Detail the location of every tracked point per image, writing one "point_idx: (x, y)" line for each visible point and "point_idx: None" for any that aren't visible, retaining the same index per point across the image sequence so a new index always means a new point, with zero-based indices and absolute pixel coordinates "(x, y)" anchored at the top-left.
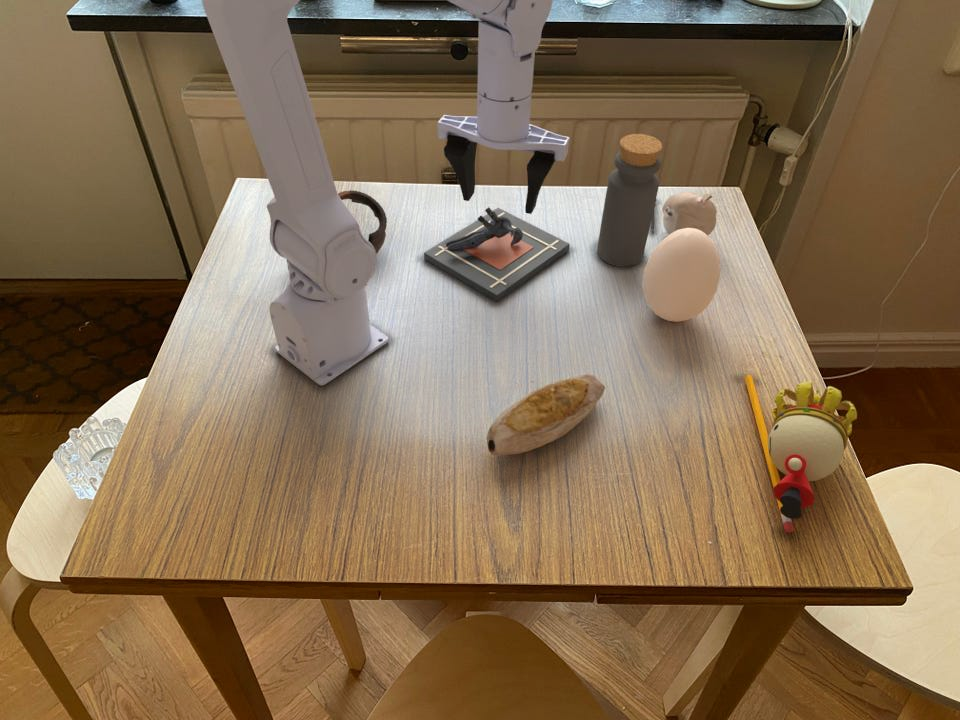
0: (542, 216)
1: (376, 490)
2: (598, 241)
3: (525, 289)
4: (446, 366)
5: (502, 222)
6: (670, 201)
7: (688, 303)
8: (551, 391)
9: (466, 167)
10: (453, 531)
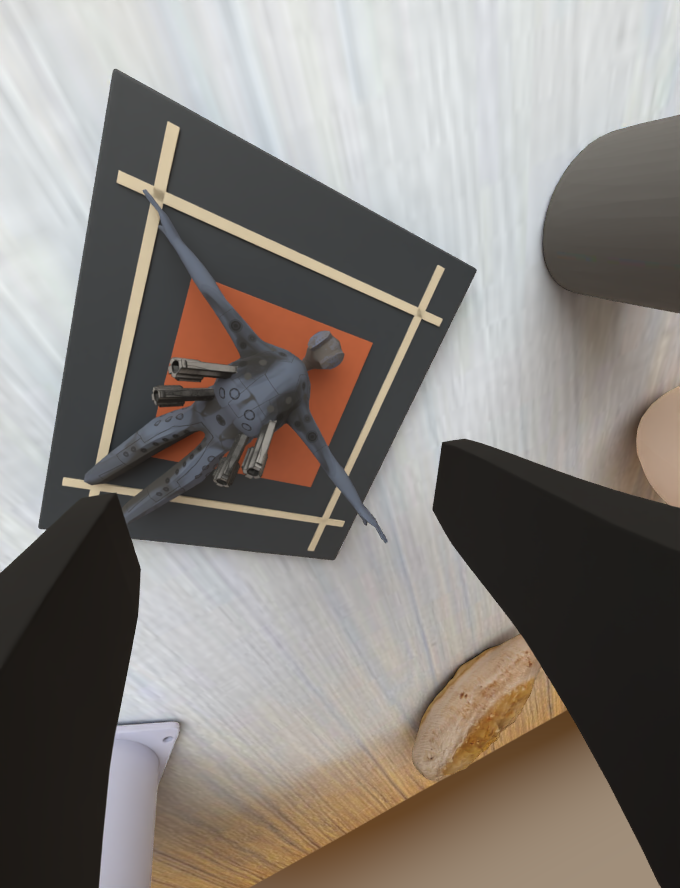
0: (333, 26)
1: (306, 811)
2: (570, 238)
3: (377, 481)
4: (303, 692)
5: (285, 418)
6: None
7: None
8: (496, 732)
9: (85, 853)
10: (393, 786)
